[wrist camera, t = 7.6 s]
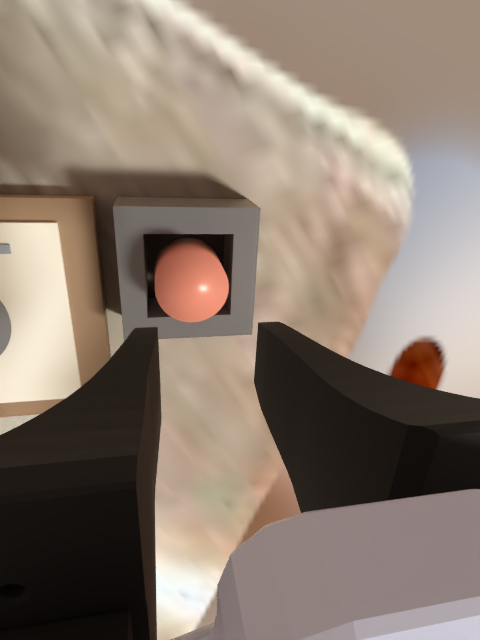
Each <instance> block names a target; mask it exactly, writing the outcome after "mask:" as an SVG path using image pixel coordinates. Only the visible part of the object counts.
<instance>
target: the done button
mask: <svg viewBox="0 0 480 640" xmlns="http://www.w3.org/2000/svg"><path fill="white" fill-rule="evenodd" d="M228 291H229V283H228V278H227V275H226V273H225V271H224V269H223V267H222V265H221V263H220V261H219V259H218V257H217V255H216V253H215V251H214V250H213V249H212V248H211V247H210V246H209V245H208V244H206V243H205V242H203V241H201V240H198V239H195V238H180V239H177V240H174V241H172V242H170V243H169V244H167V245H166V246H165V247H164V248H163V249H162V250H161V251H160V253H159V254H158V256H157V259H156V262H155V295H156V299H157V301H158V303H159V305H160V307H161V308H162V309H163V311H164V312H165V313H167V314H168V315H169V316H171V317H172V318H174V319H176V320H179V321H183V322H199V321H203V320H206V319H208V318H210V317H212V316H213V315H215V314H216V313H217V312H218V311H219V310H220V309H221V308H222V306H223V305H224V303H225V301H226V299H227V296H228Z"/></svg>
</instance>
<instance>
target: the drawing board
mask: <svg viewBox="0 0 480 640" xmlns="http://www.w3.org/2000/svg"><path fill="white" fill-rule="evenodd" d="M110 358H111V355H110V345H109V335H108V326H107V316H106V306H105V296H104V287H103V277H102V267H101V257H100V248H99V238H98V228H97V218H96V208H95V199H94V196H67V195H14V194H0V417H9V416H21V415H34V414H42V413H43V412H45V411H46V410H48V409H50V408H51V407H53V406H54V405H56V404H57V403H59V402H61V401H62V400H64V399H65V398H67V397H68V396H70V395H71V394H72V393H74V392H75V391H76V390H77V389H79V388H80V387H81V386H83V385H84V384H85V383H86V382H87V381H89V380H90V379H91V378H92V377H93V376H94V375H95V374H96V373H97V372H98V371H99V370H100V369H101V368H102V367H103V366H104V365H105V364H106V363H107V362H108V361H109V359H110Z"/></svg>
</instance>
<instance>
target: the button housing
mask: <svg viewBox="0 0 480 640" xmlns="http://www.w3.org/2000/svg"><path fill="white" fill-rule="evenodd" d="M113 216H114V228H115V240H116V252H117V263H118V275H119V287H120V299H121V311H122V323H123V334H124V341H125V340H126V339H127V337H128V336H129V334H130V333H131V331H132V330H134V329H135V328H142V327H158V339H168V338H189V337H210V336H231V335H252V327H253V312H254V297H255V282H256V267H257V252H258V236H259V221H260V208H259V207H258V206H257V205H255V204H254V203H253V202H251V201H250V200H249V199H225V198H172V197H119V196H118V197H117V199H116V201H115V203H114V204H113ZM145 234H224V259H223V269H224V271H225V273H226V275H227V278H228V283H229V291H228V296H227V299H226V301H225V303H224V305H223V306H222V308H221V309H220V310H219V311H218V312H217V313H216V314H215V315H213V316H212V317H210V318H208V319H206V320H203V321H199V322H183V321H179V320H176V319H174V318H172V317H171V316H169V315H168V314H167V313H165V312H164V311H163V309H162V308H161V307H160V305H159V303H158V301H157V299H156V297H148V286H147V267H146V248H145Z"/></svg>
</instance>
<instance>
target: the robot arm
mask: <svg viewBox="0 0 480 640" xmlns="http://www.w3.org/2000/svg"><path fill="white" fill-rule="evenodd" d="M254 383H255V387H256V392H257V396H258V399H259V403H260V407H261V410H262V412H263V415H264V417H265V420H266V422H267V424H268V427H269V429H270V432H271V434H272V436H273V439H274V441H275V443H276V445H277V448H278V450H279V452H280V455H281V457H282V459H283V462H284V464H285V466H286V469H287V471H288V474H289V476H290V479H291V482H292V484H293V488H294V491H295V494H296V498H297V501H298V504H299V508H300V511H301V513H300V514H297V515H294V516H291V517H288V518H285V519H282V520H279V521H276V522H273V523H270V524H267V525H265V526H264V527H263V528H261V529H260V530H259V531H258V532H256V533H255V534H254V535H253V536H252V537H250V538H249V539H248V540H246V541H245V542H244V543H243V544H241V545H240V546H239V547H238V548H236V549H235V551H234V552H233V553H232V554H231V555H230V557H229V560H228V562H227V564H226V567H225V569H224V571H223V574H222V576H221V578H220V581H219V583H218V590H217V615H216V619H215V622H214V623H212V624H209V625H207V626H204V627H202V628H199V629H197V630H194V631H192V632H189V633H187V634H184V635H182V636H179V637H177V638H174V639H172V640H480V399H478V398H472V397H467V396H462V395H458V394H452V393H448V392H444V391H440V390H436V389H432V388H428V387H424V386H420V385H417V384H414V383H410V382H407V381H404V380H400V379H397V378H394V377H391V376H388V375H385V374H383V373H380V372H378V371H375V370H372V369H370V368H367V367H365V366H362V365H360V364H358V363H356V362H353V361H351V360H349V359H347V358H345V357H343V356H341V355H339V354H337V353H335V352H333V351H331V350H329V349H328V348H326V347H324V346H322V345H320V344H318V343H317V342H315V341H313V340H311V339H310V338H308V337H306V336H305V335H303V334H301V333H299V332H298V331H296V330H294V329H292V328H291V327H289V326H287V325H285V324H283V323H280V322H262V323H258V335H257V349H256V362H255V376H254ZM160 427H161V393H160V369H159V346H158V327H142V328H135V329H134V330H132V331H131V333H130V334H129V336H128V337H127V339H126V340H125V341H124V343H123V344H122V345H121V346H120V348H119V349H118V350H117V351H116V352H115V354H114V355H113V356H112V357H111V358H110V359H109V361H108V362H107V363H106V364H105V365H104V366H103V367H102V368H101V369H100V370H99V371H98V372H97V373H96V374H95V375H94V376H93V377H92V378H91V379H90V380H89V381H87V382H86V383H85V384H84V385H83V386H81V387H80V388H79V389H77V390H76V391H75V392H74V393H72V394H71V395H70V396H68V397H67V398H65V399H64V400H62V401H61V402H59V403H57V404H56V405H54V406H53V407H51V408H50V409H48V410H46V411H45V412H43V413H42V414H40V415H38V416H37V417H35V418H33V419H31V420H29V421H28V422H26V423H24V424H22V425H20V426H18V427H16V428H14V429H12V430H10V431H8V432H6V433H4V434H2V435H0V640H157V623H156V562H155V484H156V473H157V461H158V450H159V439H160Z"/></svg>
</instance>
